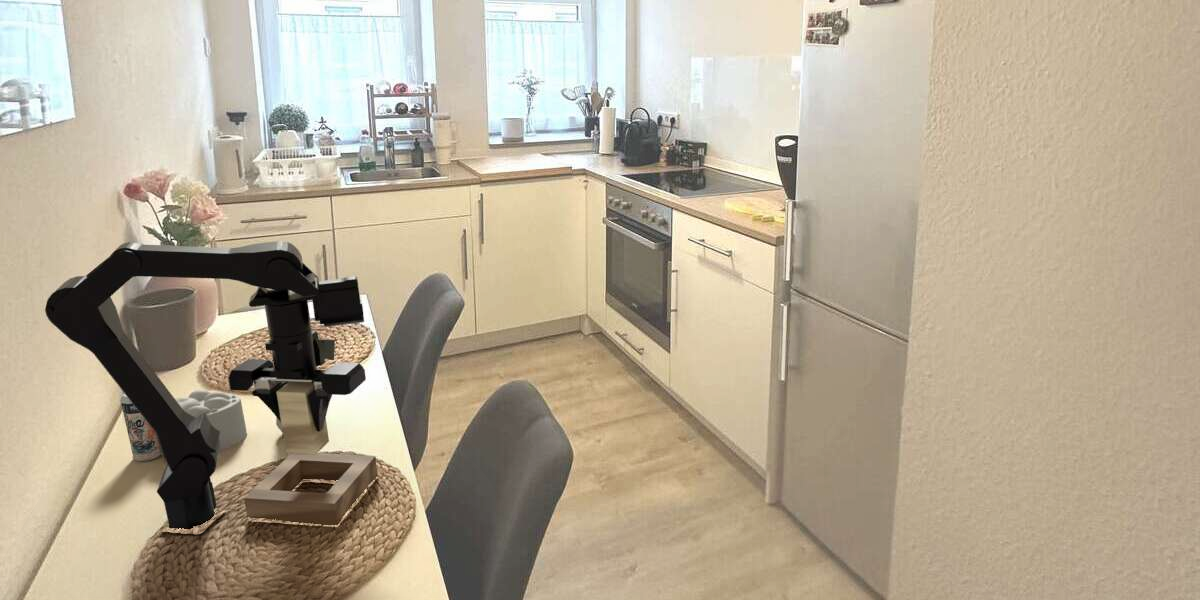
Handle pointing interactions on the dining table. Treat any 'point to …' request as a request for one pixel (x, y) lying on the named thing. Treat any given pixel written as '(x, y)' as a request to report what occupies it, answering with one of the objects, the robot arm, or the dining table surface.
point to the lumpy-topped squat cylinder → (218, 414)
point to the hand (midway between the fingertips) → (304, 429)
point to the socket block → (307, 507)
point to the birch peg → (299, 420)
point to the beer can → (139, 433)
